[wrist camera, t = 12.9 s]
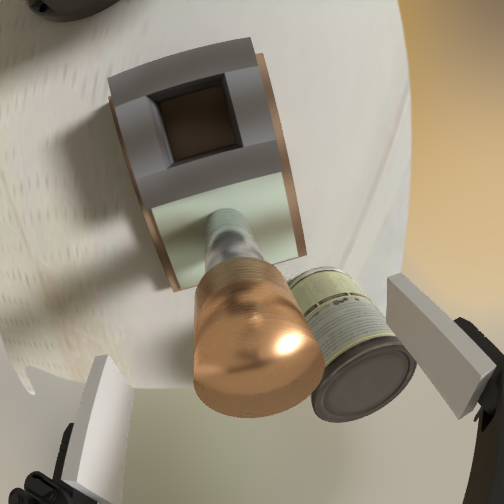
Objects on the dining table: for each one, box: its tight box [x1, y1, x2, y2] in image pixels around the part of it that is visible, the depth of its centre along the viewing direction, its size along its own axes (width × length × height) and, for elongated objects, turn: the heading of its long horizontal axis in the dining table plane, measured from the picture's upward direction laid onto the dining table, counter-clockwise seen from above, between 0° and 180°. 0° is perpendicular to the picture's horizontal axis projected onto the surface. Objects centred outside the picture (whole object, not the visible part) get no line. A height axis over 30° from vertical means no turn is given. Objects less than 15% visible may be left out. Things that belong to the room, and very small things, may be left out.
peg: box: [194, 208, 325, 418], centre depth 19 cm, size 5×5×18 cm
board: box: [107, 37, 307, 292], centre depth 24 cm, size 20×14×8 cm
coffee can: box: [289, 267, 417, 423], centre depth 29 cm, size 10×10×14 cm
